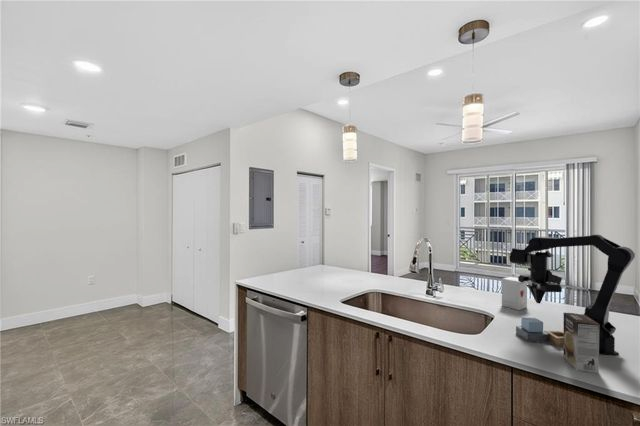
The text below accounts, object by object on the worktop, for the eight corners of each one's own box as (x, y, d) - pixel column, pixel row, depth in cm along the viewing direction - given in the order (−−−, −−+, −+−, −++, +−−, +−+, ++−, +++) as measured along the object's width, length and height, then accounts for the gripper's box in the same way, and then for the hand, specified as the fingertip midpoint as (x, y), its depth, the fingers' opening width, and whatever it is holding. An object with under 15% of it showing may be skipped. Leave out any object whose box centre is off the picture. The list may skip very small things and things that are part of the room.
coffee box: (562, 357, 107) (562, 312, 107) (584, 359, 106) (584, 313, 105) (575, 370, 99) (576, 321, 98) (599, 373, 97) (600, 323, 97)
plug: (543, 340, 121) (543, 322, 120) (528, 340, 121) (528, 321, 121) (535, 335, 126) (535, 317, 125) (521, 335, 126) (521, 317, 126)
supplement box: (519, 310, 156) (519, 281, 156) (501, 306, 163) (501, 278, 163) (527, 307, 161) (527, 279, 161) (509, 303, 168) (509, 276, 168)
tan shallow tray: (575, 347, 115) (575, 338, 115) (556, 346, 116) (556, 338, 115) (562, 339, 122) (562, 331, 122) (544, 338, 123) (544, 330, 122)
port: (548, 342, 119) (548, 334, 119) (527, 342, 120) (527, 333, 120) (535, 334, 127) (535, 326, 127) (516, 333, 128) (516, 325, 128)
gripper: (576, 271, 118) (575, 310, 119) (542, 262, 137) (542, 296, 137) (546, 271, 119) (546, 310, 119) (517, 262, 137) (517, 296, 138)
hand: (538, 303), depth 128 cm, fingers closed
